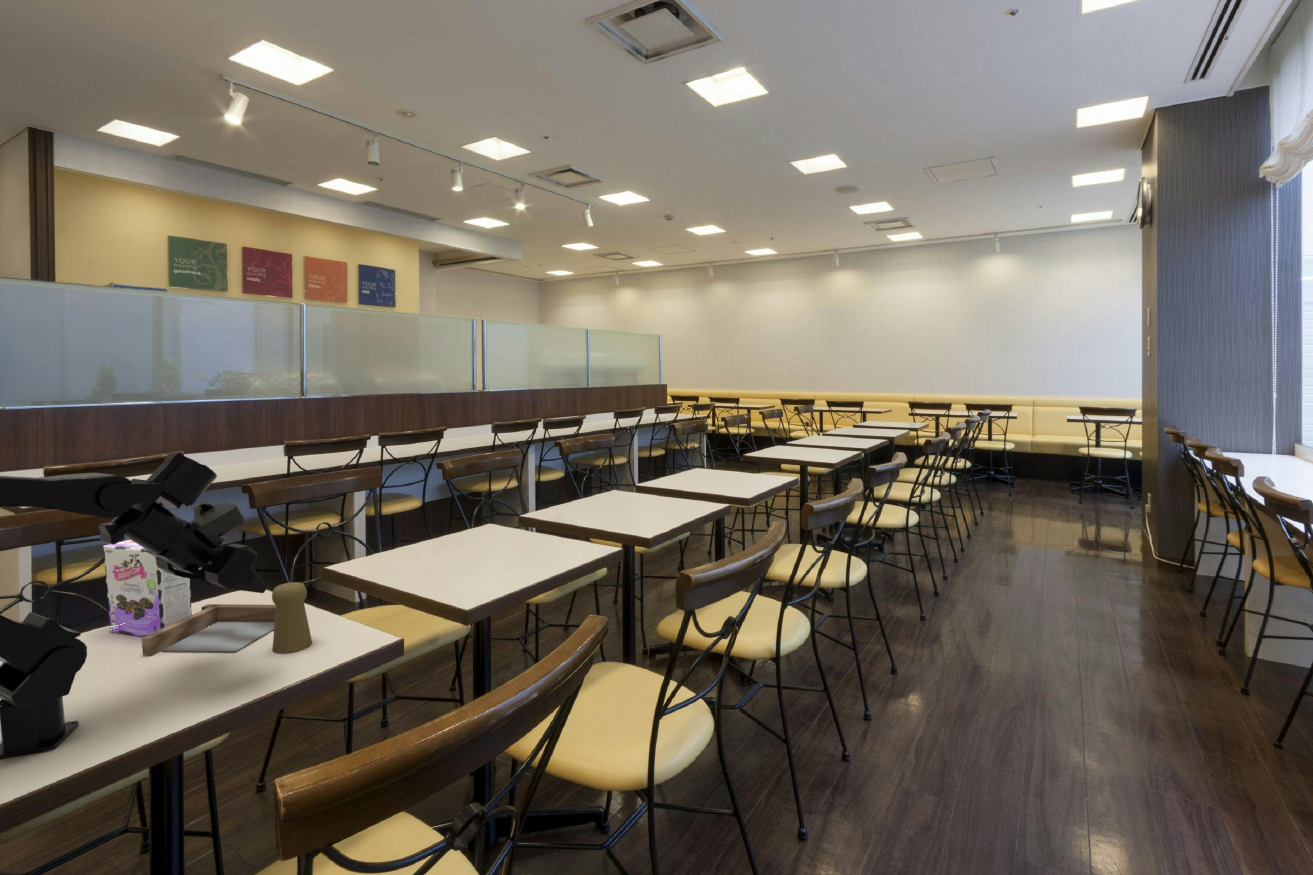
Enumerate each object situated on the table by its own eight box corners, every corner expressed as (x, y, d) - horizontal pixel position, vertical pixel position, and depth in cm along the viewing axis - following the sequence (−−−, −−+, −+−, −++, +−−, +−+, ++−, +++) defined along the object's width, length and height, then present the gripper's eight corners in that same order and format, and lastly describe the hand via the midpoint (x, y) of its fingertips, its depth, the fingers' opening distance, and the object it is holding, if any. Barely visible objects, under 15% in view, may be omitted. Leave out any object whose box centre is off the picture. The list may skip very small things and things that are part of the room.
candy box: (108, 632, 117) (100, 544, 115) (142, 621, 122) (135, 537, 121) (162, 640, 112) (155, 549, 111) (195, 628, 118) (188, 541, 117)
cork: (294, 654, 106) (290, 590, 105) (263, 652, 107) (259, 588, 106) (320, 640, 112) (317, 579, 111) (290, 638, 113) (287, 577, 112)
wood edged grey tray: (243, 656, 105) (242, 639, 105) (134, 655, 106) (132, 638, 106) (303, 620, 122) (302, 604, 121) (208, 619, 123) (207, 604, 122)
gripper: (238, 493, 92) (315, 550, 103) (173, 485, 101) (250, 537, 112) (181, 560, 86) (269, 612, 97) (117, 544, 95) (204, 594, 106)
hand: (248, 586), depth 103 cm, fingers open, 9 cm apart
